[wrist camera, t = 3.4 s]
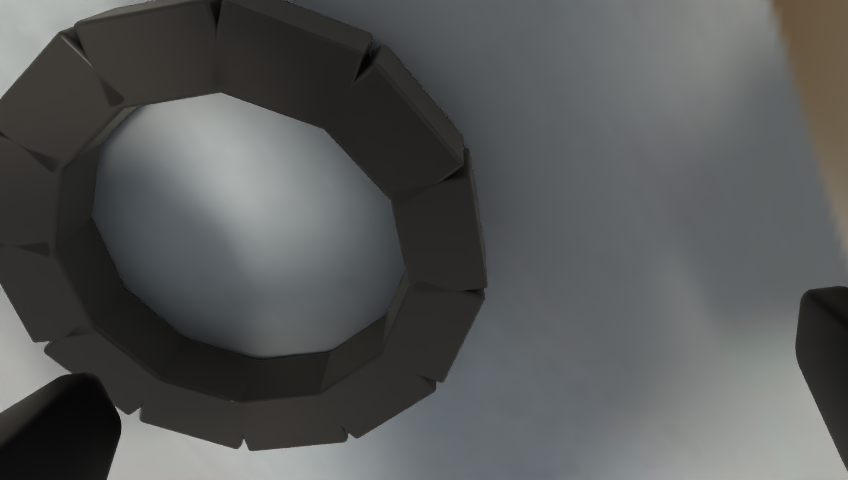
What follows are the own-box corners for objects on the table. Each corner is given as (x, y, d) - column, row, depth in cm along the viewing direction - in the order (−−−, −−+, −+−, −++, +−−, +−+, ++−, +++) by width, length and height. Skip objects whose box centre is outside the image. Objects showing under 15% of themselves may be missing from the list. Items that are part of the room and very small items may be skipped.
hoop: (439, -54, 10) (436, -45, 9) (505, 382, 14) (509, 428, 13) (-66, 42, 11) (-129, 60, 10) (130, 420, 16) (102, 466, 14)
